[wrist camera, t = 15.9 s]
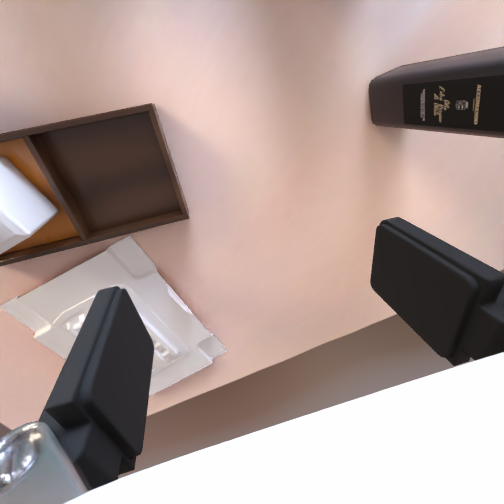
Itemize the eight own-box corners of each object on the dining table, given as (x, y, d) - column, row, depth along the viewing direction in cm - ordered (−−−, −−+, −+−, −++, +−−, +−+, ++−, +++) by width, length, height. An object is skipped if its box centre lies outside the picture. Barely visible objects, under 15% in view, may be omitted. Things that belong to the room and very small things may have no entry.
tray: (133, 400, 50) (130, 420, 47) (2, 302, 36) (-17, 320, 33) (228, 350, 49) (231, 366, 46) (130, 231, 36) (124, 242, 32)
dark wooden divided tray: (-98, 154, 26) (-125, 159, 24) (154, 103, 29) (151, 103, 26) (-10, 260, 32) (-25, 272, 30) (188, 211, 35) (189, 218, 33)
